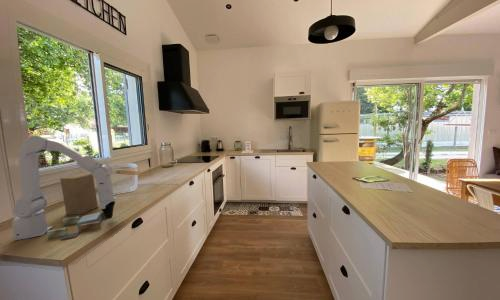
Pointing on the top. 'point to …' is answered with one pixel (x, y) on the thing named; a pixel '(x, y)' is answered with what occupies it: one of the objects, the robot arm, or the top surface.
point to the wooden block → (79, 193)
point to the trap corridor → (72, 221)
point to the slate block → (89, 219)
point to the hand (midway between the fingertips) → (109, 218)
